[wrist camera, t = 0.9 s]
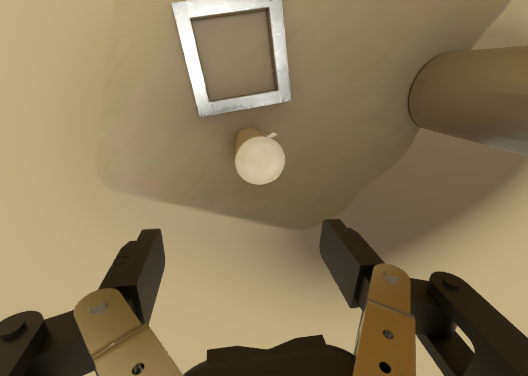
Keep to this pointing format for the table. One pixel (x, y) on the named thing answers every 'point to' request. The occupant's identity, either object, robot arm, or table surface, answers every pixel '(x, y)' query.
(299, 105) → the table surface
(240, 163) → the milkshake
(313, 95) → the table surface
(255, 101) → the grey square frame
